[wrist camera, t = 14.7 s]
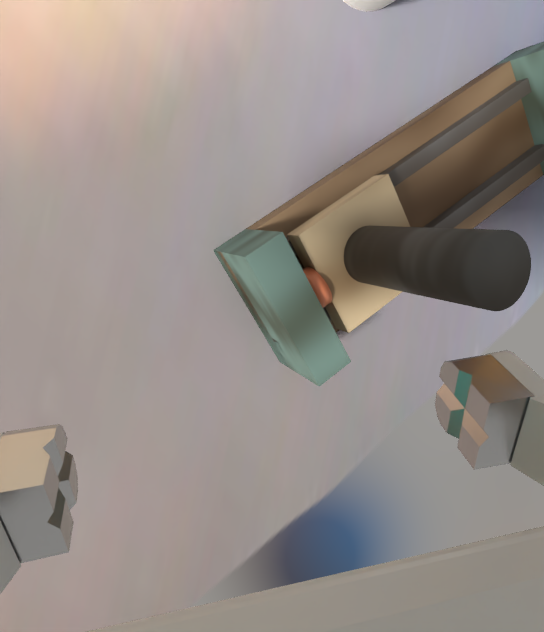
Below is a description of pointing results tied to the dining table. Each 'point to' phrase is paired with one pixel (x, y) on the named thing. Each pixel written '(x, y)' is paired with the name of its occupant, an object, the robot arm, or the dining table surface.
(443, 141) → the rail track
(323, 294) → the button
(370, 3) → the white paint palette
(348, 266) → the cylinder
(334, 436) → the dining table surface
